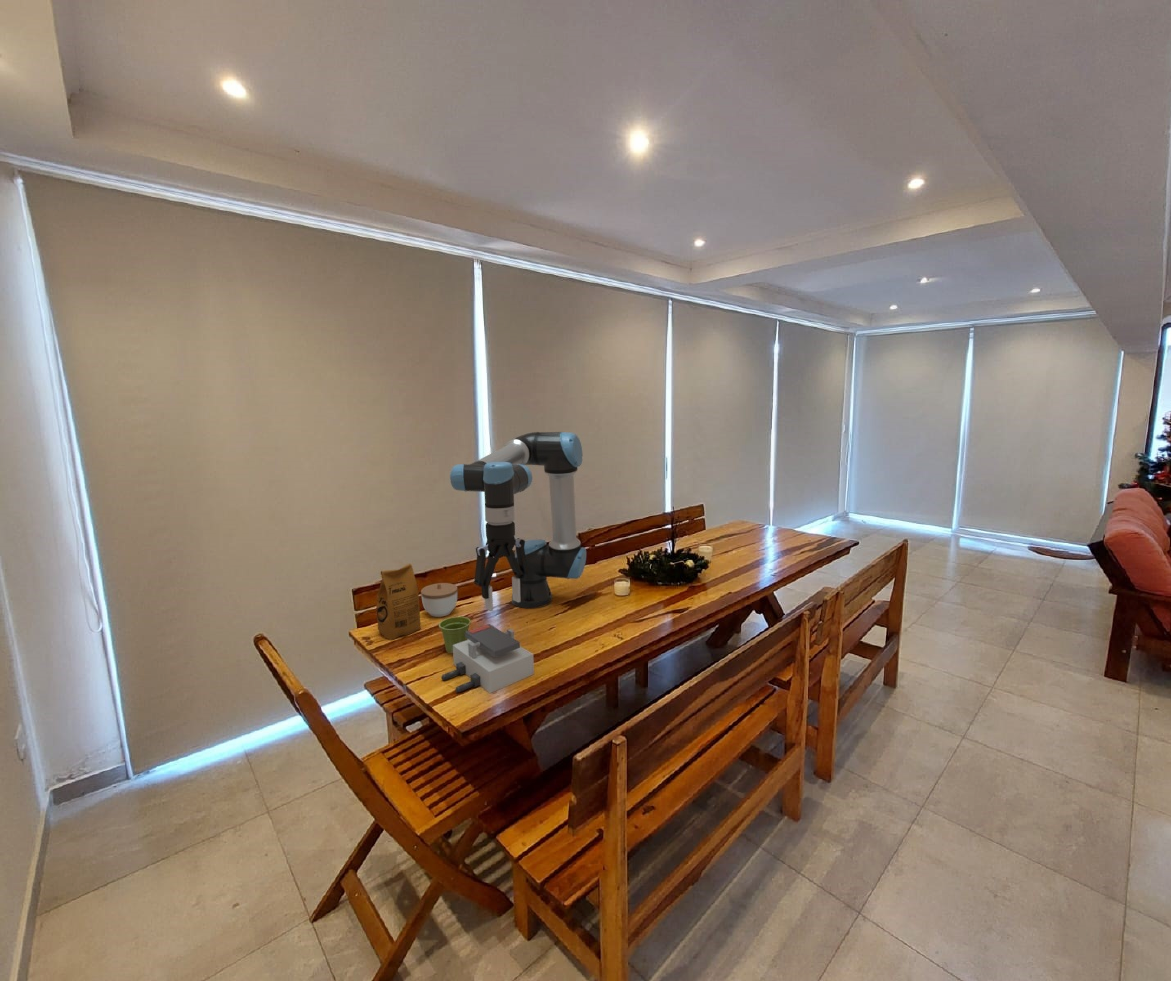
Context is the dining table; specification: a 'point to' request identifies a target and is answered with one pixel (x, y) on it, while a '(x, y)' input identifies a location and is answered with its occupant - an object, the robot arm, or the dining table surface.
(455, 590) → the lidded bowl
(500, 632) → the rocker
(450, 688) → the dining table surface
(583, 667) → the dining table surface
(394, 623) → the coffee package
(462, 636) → the plant pot
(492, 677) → the switch box
